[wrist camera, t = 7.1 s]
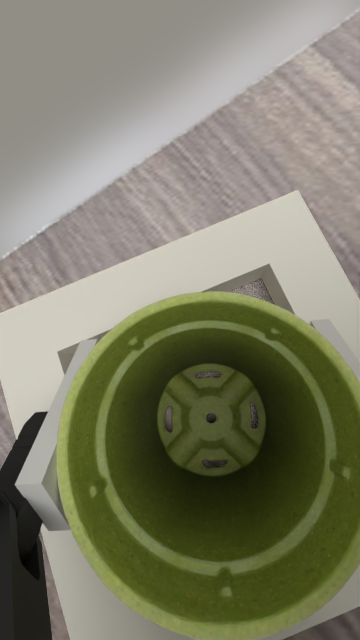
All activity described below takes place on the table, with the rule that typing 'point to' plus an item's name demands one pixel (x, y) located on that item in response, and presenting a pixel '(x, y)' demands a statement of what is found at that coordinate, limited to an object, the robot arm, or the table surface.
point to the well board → (142, 290)
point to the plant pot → (219, 482)
